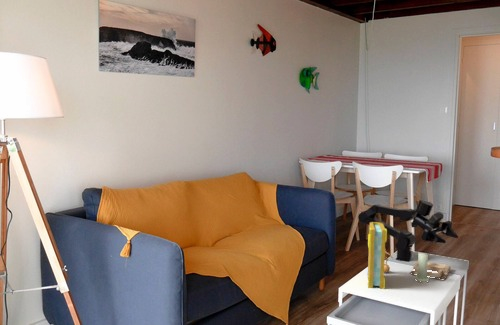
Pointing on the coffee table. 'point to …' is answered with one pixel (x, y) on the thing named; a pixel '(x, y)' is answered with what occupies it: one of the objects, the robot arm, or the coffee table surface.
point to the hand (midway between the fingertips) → (451, 239)
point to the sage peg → (422, 267)
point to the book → (376, 254)
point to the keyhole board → (440, 268)
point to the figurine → (386, 267)
